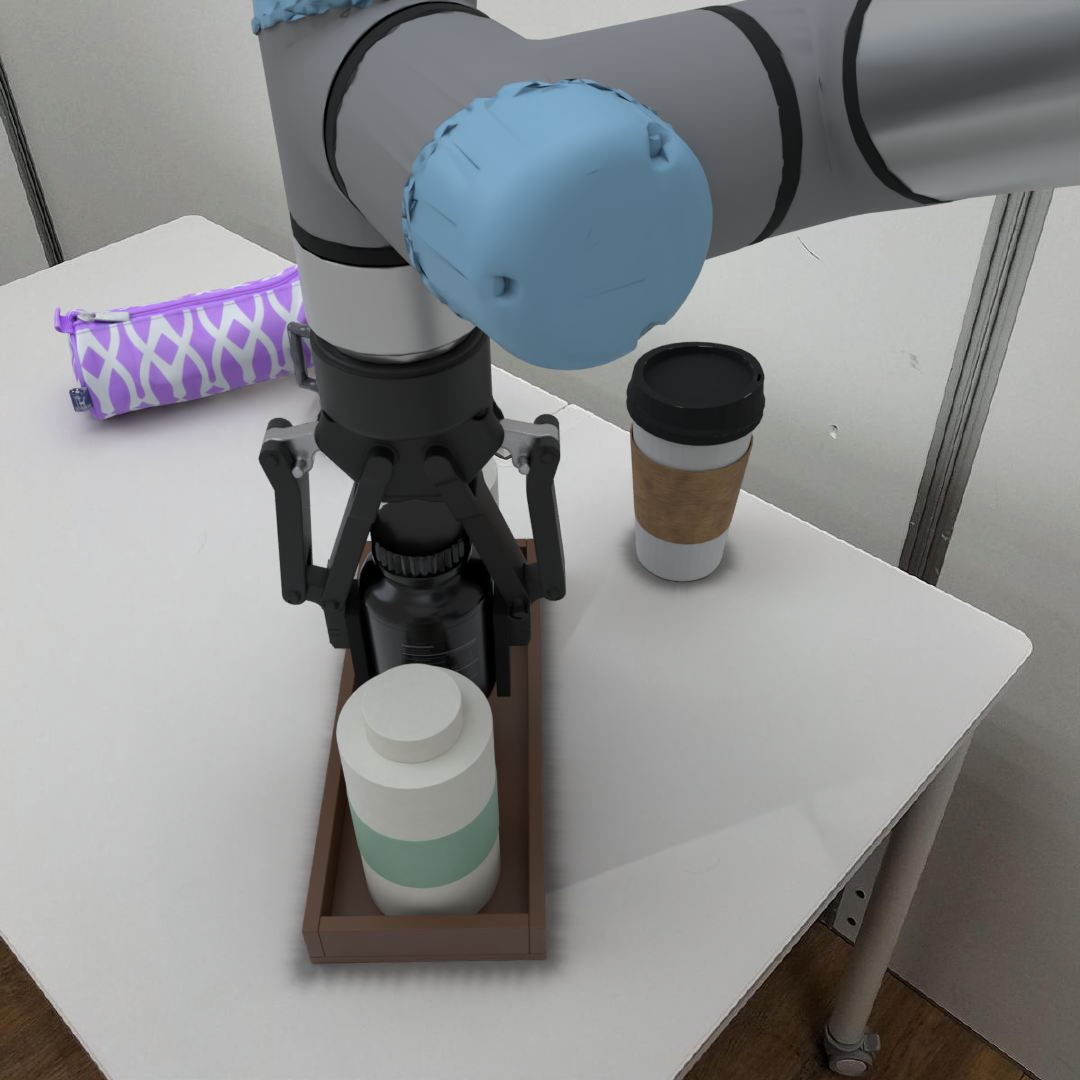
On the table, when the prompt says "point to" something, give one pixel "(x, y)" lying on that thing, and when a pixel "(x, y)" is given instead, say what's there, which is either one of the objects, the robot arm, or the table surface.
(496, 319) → the robot arm
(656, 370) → the coffee cup
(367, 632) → the supplement bottle
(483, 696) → the white bottle near
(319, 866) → the tray
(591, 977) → the table surface
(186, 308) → the pencil case
